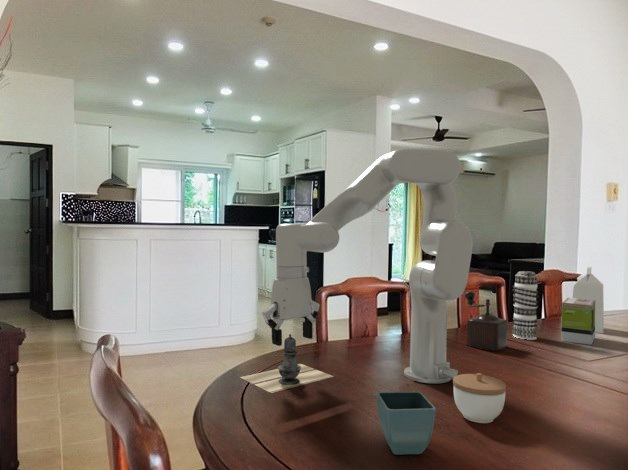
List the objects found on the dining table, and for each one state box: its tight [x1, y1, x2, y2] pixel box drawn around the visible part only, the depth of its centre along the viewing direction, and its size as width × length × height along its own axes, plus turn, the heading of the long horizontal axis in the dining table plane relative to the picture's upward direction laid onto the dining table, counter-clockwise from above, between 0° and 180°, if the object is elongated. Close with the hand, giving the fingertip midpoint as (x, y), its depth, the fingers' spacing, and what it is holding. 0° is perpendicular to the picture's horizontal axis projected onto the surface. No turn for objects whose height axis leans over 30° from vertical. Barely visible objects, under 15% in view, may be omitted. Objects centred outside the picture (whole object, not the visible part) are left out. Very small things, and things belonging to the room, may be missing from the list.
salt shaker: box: [277, 333, 301, 385], centre depth 115 cm, size 6×6×12 cm
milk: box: [572, 266, 605, 334], centre depth 193 cm, size 12×12×26 cm
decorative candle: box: [511, 270, 540, 341], centre depth 175 cm, size 9×9×25 cm
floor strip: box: [239, 363, 316, 385], centre depth 121 cm, size 6×20×1 cm, turn 130°
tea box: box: [560, 297, 596, 346], centre depth 173 cm, size 15×10×15 cm, turn 144°
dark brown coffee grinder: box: [463, 291, 508, 352], centre depth 162 cm, size 16×11×18 cm
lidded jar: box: [452, 372, 507, 424], centre depth 98 cm, size 11×11×9 cm
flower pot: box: [376, 391, 437, 456], centre depth 84 cm, size 9×9×9 cm
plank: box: [254, 369, 335, 394], centre depth 116 cm, size 7×20×1 cm, turn 131°
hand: (292, 341), depth 115 cm, fingers open, 9 cm apart
